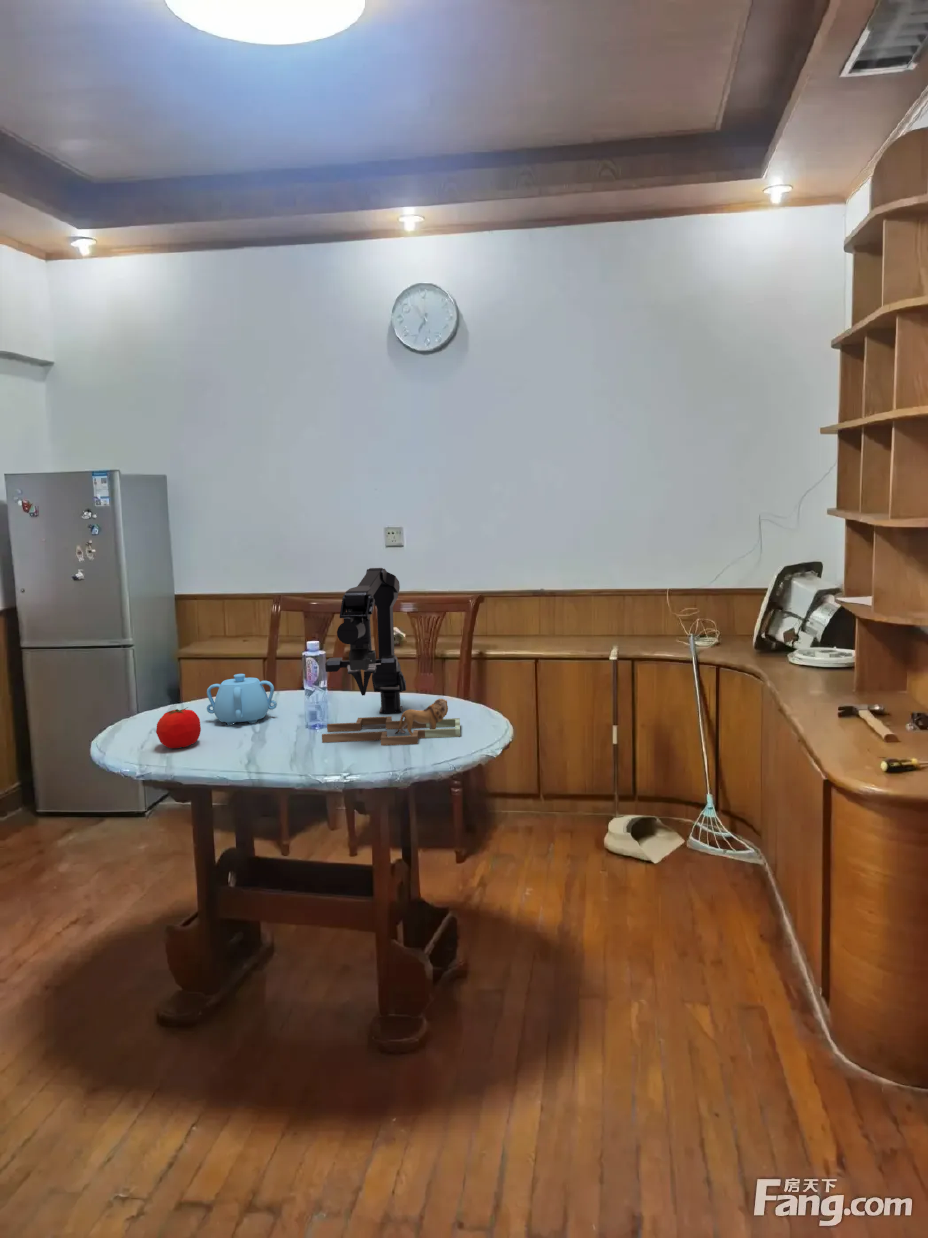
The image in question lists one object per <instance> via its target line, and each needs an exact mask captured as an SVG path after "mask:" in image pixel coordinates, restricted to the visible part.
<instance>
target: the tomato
mask: <svg viewBox="0 0 928 1238" xmlns="http://www.w3.org/2000/svg"><path fill="white" fill-rule="evenodd" d="M188 708H189V706H188V707H186V708H184V709H179V708H175V709H173V710H170V711H166V712H165V713H163V715H162V716H161V717H160V718H159V719H158V721H157V723H156V730H155V733H156V736H157V738H158V741H159V743H161V744H162V745H163V746H165V747H166V748H167V749H181V748H180V747H183V748H186V747H189V745H190V746H191V744H192V745H193V744H195V743H196V742H197V741H198V739H199V738H200V736H201V731H202V728H201V721H200V718H199V716H198V714H197V713H196V712H195V711H193V710H192V709H188Z"/></svg>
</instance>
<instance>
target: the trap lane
mask: <svg viewBox="0 0 928 1238" xmlns="http://www.w3.org/2000/svg"><path fill="white" fill-rule="evenodd" d="M403 722H404V720H403V721H402V723H403ZM399 724H400V720H393V716H369V717H367V716H366V717H357V719H356V722H342V723H340V722H338V723H327V724H326V727H327V728H326V730H327V733H321V742H322V743H323V744H324V743H339V742H341V743H342V742H345V743H346V742H364V741H365V742H366V741H367V742H368V741H371V742H372V741H380V745H381V746H382V747H383V746H401V745H403V746H405V745H407V746H408V745H418V744H419V739H435V738H438V739H439V738H457V737H459V738H460V737H461V718H460V717H458V718H443V720H442V721H441V722H437V723H436V729H430V725H429V723H426V724H420V723H417V722H415V721H413V724H412V727H411V729H413V731H412V733H413V735H394V736H390V735H389V736H388V730H398V729H399ZM407 728H408V725H406V726H405V727H404V728H403V730H407ZM425 728H426V729H425ZM376 729H377V730H379V729H380V730H381V729H385V731H362V732H360V731H361V730H376Z"/></svg>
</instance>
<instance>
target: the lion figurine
mask: <svg viewBox="0 0 928 1238" xmlns="http://www.w3.org/2000/svg"><path fill="white" fill-rule="evenodd" d="M448 711H449V706H448V701H447V700H446V699H444V698H438V699H436V700H434V702H433V703H432V704H430V705H429V706H428V707H426V708H425V709H422V710H421V709H419V710H416V709H412V708H411V709H406V710H405V711H403V713H402V714H401V717H400V719H399V721H400V724H399V729H396V731H395V732H394V734H395V735H398V734H399V733H400V734H405V733H406V730H407V732H408V734H409V736H411V735H413V731H412V728H411V727H412V724H413V721H415V722H417V723H420V724H426V723H429V725H430V728H429V729H437V727H436V723H437V722H441V721H442V720H443V719H445V718H446V716H447V714H448ZM402 721H404V722H403V723H402ZM406 725H408V728H407V729H406V730H405V729H403V728H404V727H405V726H406Z"/></svg>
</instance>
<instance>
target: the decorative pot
mask: <svg viewBox="0 0 928 1238" xmlns="http://www.w3.org/2000/svg"><path fill="white" fill-rule="evenodd" d="M263 685H266V686H269V689H270V690H269V695H268V694H267V692H266V690H265V688H264V686H263ZM214 688H218V689H217V693H216V695H215V700H214V698H213V696H212V693H211V691H212V689H214ZM274 693H275V686H274V684H273V683H272V682H271V681H268V680H261V681H260V679H259V678H257V677H246V674H245V673H236V674H234V675H233V678H230V679H229V678H228V679H225V680H223V681H222V682H221V683H214V684H211V685H209V687H208V688H207V689H206V696H207V698H208V701H209V703H210V704H208V705H207V707H206V711H207V712H208V714H214V715H215V717H216V718H217V720H218V721H220V722H221V723H225V724H226V723H227V724H232V725H234V724H233V723H235V724H236V723H242V722H249V723H248V724H256V723H258V722H257V721H259V720H261V719H263V718H264V717H265V716H266V715H267V713H268V711H269V710H272V711H273V710H275V709H276V708H277V705H278V704H277V701H275V700H273V696H274ZM271 704H273V705H271ZM211 707H212V709H211ZM255 722H256V723H255Z"/></svg>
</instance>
